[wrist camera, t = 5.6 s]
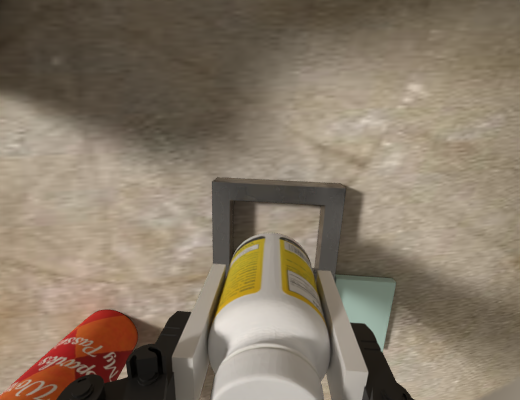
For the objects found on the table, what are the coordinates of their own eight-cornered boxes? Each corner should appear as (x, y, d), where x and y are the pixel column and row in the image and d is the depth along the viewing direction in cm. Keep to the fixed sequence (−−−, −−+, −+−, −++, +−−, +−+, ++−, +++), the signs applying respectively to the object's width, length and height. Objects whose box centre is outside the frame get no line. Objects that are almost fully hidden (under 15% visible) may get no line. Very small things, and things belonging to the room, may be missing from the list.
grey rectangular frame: (217, 177, 24) (211, 181, 22) (340, 183, 23) (346, 188, 21) (218, 355, 29) (214, 371, 27) (318, 364, 29) (321, 381, 27)
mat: (334, 274, 26) (336, 278, 25) (392, 278, 25) (396, 282, 25) (326, 341, 28) (327, 348, 27) (379, 346, 28) (382, 352, 27)
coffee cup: (156, 316, 28) (31, 510, 14) (138, 371, 31) (14, 588, 16) (82, 288, 28) (-124, 458, 14) (69, 346, 30) (-121, 545, 16)
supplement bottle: (229, 296, 19) (183, 467, 10) (233, 226, 17) (184, 347, 8) (305, 305, 19) (335, 488, 9) (316, 234, 17) (364, 368, 8)
